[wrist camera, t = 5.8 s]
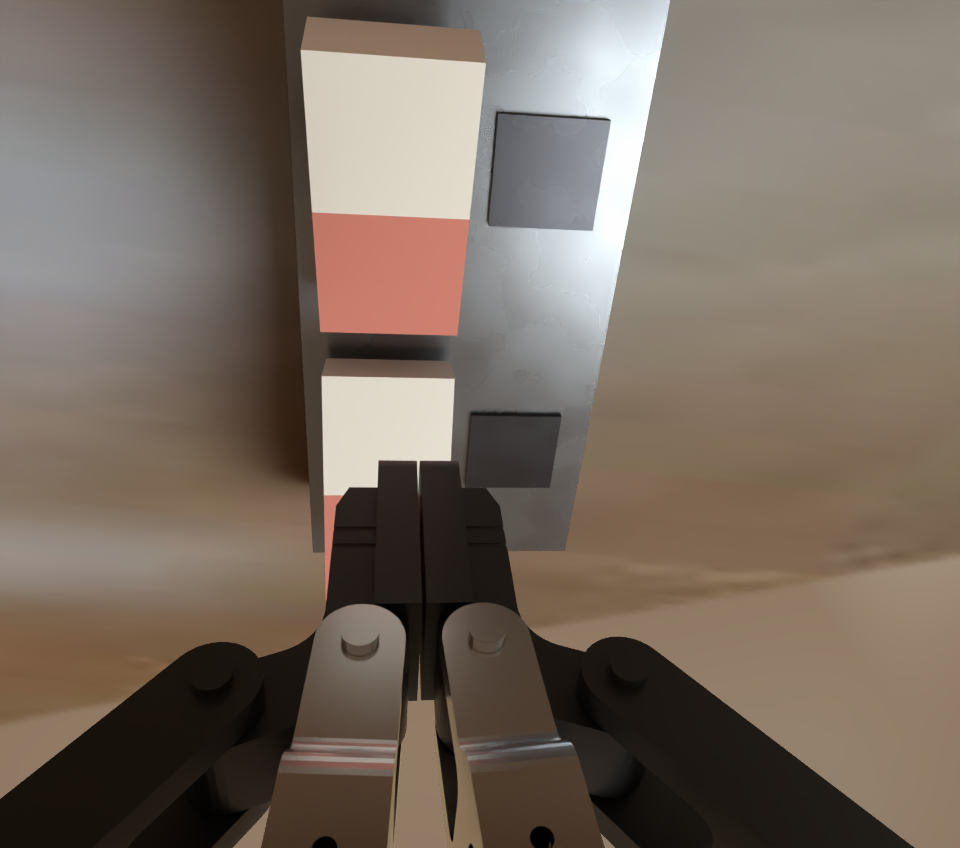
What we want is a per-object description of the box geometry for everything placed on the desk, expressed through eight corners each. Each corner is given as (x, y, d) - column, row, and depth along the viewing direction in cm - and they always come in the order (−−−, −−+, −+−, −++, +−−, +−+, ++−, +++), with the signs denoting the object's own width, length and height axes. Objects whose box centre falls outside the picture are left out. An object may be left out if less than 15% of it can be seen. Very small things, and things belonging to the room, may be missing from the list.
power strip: (715, -526, 18) (794, -629, 14) (548, 488, 34) (565, 553, 31) (271, -603, 17) (240, -737, 13) (320, 487, 33) (312, 556, 30)
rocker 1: (480, 29, 18) (486, 62, 17) (454, 297, 24) (457, 335, 23) (306, 16, 18) (300, 49, 16) (324, 292, 24) (320, 331, 22)
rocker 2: (450, 361, 25) (454, 378, 23) (440, 570, 28) (443, 599, 26) (326, 358, 25) (321, 376, 23) (329, 571, 28) (325, 600, 26)
